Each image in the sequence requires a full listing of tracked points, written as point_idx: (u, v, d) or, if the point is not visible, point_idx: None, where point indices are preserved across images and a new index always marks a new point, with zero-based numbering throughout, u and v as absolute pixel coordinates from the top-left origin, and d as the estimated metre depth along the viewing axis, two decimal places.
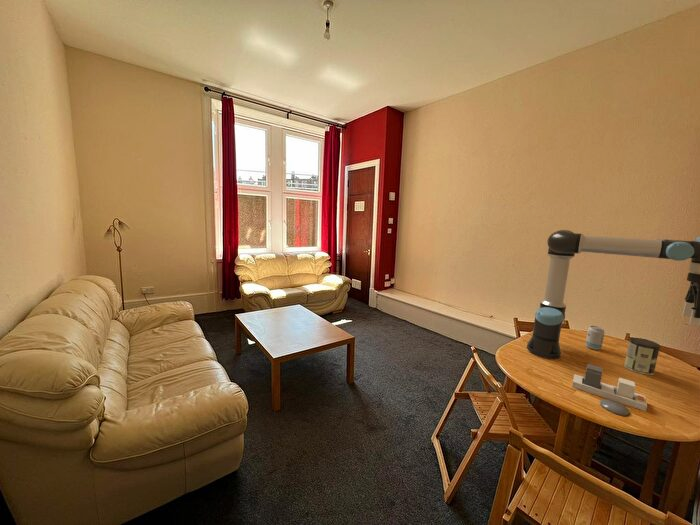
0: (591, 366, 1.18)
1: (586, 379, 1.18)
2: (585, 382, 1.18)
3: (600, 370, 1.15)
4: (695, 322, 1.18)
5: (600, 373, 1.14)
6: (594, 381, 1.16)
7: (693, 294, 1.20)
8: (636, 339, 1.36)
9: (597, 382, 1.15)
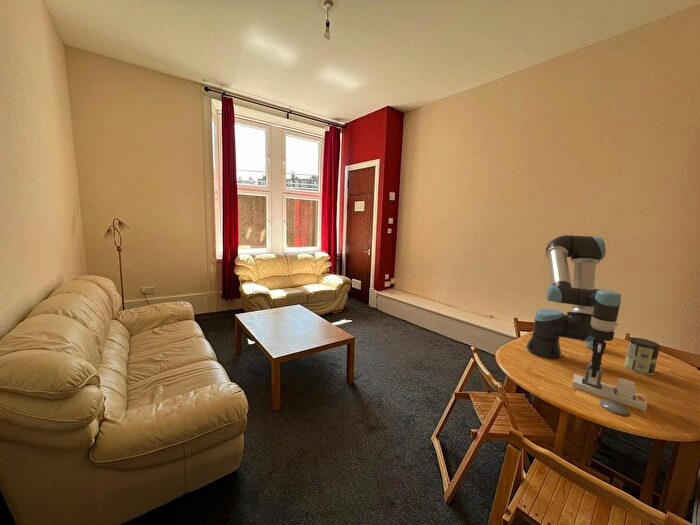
0: None
1: (586, 379, 1.18)
2: (585, 382, 1.18)
3: (600, 370, 1.15)
4: (592, 381, 1.16)
5: (600, 373, 1.14)
6: None
7: None
8: (636, 339, 1.36)
9: (597, 382, 1.15)
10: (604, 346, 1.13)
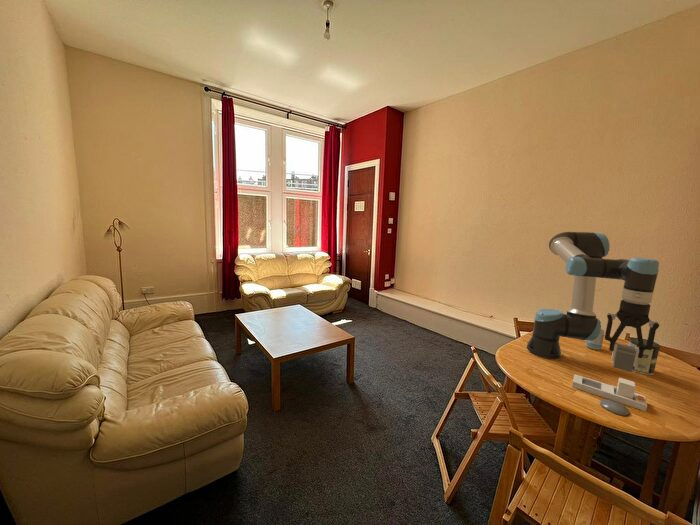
0: (627, 346, 1.03)
1: None
2: None
3: (622, 347, 1.02)
4: (612, 356, 1.06)
5: (617, 348, 1.03)
6: None
7: None
8: (636, 339, 1.36)
9: None
10: (624, 318, 1.01)
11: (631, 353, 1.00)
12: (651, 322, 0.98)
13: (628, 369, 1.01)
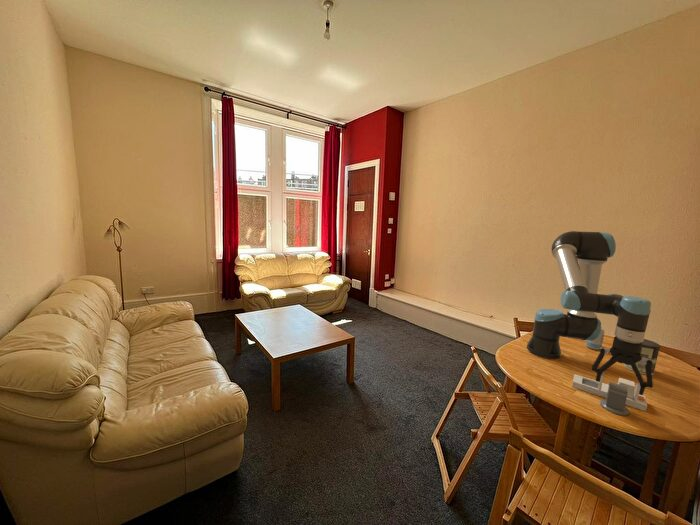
0: (619, 386, 1.06)
1: (607, 394, 1.09)
2: (606, 397, 1.10)
3: (614, 388, 1.05)
4: (598, 386, 1.09)
5: (609, 388, 1.06)
6: (607, 397, 1.08)
7: None
8: None
9: (607, 398, 1.07)
10: (617, 355, 1.03)
11: (623, 394, 1.03)
12: (644, 359, 1.00)
13: (620, 409, 1.04)
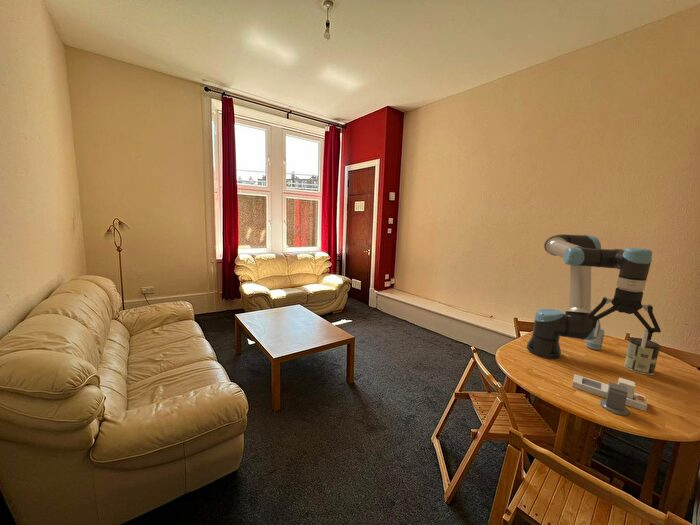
0: (619, 386, 1.06)
1: (607, 394, 1.09)
2: (606, 397, 1.10)
3: (614, 388, 1.05)
4: (594, 332, 1.15)
5: (609, 388, 1.06)
6: (607, 397, 1.08)
7: None
8: (636, 339, 1.36)
9: (607, 398, 1.07)
10: (619, 304, 1.07)
11: (623, 394, 1.03)
12: (644, 306, 1.04)
13: (620, 409, 1.04)
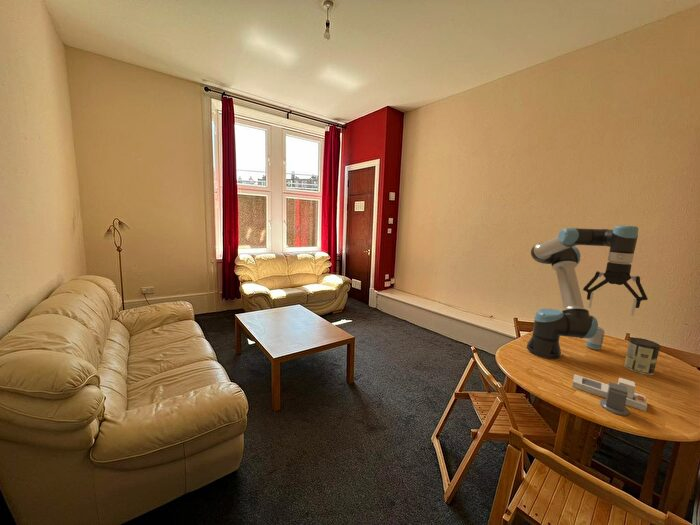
0: (619, 386, 1.06)
1: (607, 394, 1.09)
2: (606, 397, 1.10)
3: (614, 388, 1.05)
4: (589, 304, 1.26)
5: (609, 388, 1.06)
6: (607, 397, 1.08)
7: (603, 281, 1.24)
8: (636, 339, 1.36)
9: (607, 398, 1.07)
10: (610, 277, 1.20)
11: (623, 394, 1.03)
12: (633, 277, 1.16)
13: (620, 409, 1.04)
